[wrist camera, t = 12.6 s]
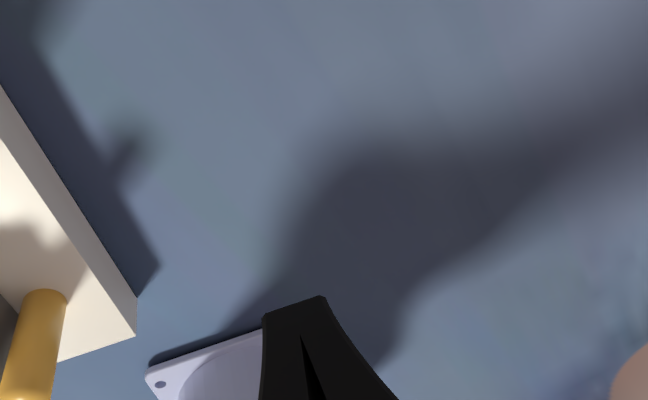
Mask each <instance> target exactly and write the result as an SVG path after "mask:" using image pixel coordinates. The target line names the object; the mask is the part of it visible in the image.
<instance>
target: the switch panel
mask: <svg viewBox="0 0 648 400" xmlns="http://www.w3.org/2000/svg"><path fill="white" fill-rule="evenodd" d="M0 295H1V296H2V297H3V298H4V299H5V300H6V301H7V303H8V304H9V305H10V306H11V307H12V308H13V309H14V311H15V312H16V313H17V314H18V315H19V316H18V320H17V323H16V327H15V331H14V335H13V338H12V342H11V346H10V350H9V353H8V357H7V361H6V365H5V368H4V372H3V376H2V380H1V383H0V400H50V398H51V392H52V387H53V381H54V375H55V369H56V364H57V362H60V361H63V360H66V359H69V358H72V357H75V356H78V355H81V354H84V353H87V352H90V351H93V350H96V349H99V348H102V347H105V346H108V345H111V344H114V343H117V342H120V341H123V340H126V339H129V338H132V337H134V336H136V324H137V298H136V296H135V295H134V293H133V292H132V290H131V288H130V287H129V285H128V284H127V282H126V281H125V279H124V278H123V276H122V274H121V273H120V271H119V270H118V268H117V267H116V265H115V263H114V262H113V260H112V259H111V257H110V256H109V254H108V252H107V251H106V249H105V248H104V246H103V245H102V243H101V242H100V240H99V238H98V237H97V235H96V234H95V232H94V231H93V229H92V227H91V226H90V224H89V223H88V221H87V220H86V218H85V217H84V215H83V213H82V212H81V210H80V209H79V207H78V206H77V204H76V202H75V201H74V199H73V198H72V196H71V195H70V193H69V191H68V190H67V188H66V187H65V185H64V184H63V182H62V181H61V179H60V177H59V176H58V174H57V173H56V171H55V170H54V168H53V166H52V165H51V163H50V162H49V160H48V159H47V157H46V156H45V154H44V152H43V151H42V149H41V148H40V146H39V145H38V143H37V141H36V140H35V138H34V137H33V135H32V134H31V132H30V130H29V129H28V127H27V126H26V124H25V123H24V121H23V120H22V118H21V116H20V115H19V113H18V112H17V110H16V109H15V107H14V105H13V104H12V102H11V101H10V99H9V98H8V96H7V95H6V93H5V91H4V90H3V88H2V87H1V85H0Z"/></svg>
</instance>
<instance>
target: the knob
mask: <svg viewBox="0 0 648 400" xmlns="http://www.w3.org/2000/svg"><path fill="white" fill-rule="evenodd" d="M18 316H19V315H18V314H17V313H16V312H15V311H14V309H13V308H12V307H11V306H10V305H9V304H8V303H7V301H6V300H5V299H4V298H3V297H2V296H1V295H0V383H1V380H2V376H3V372H4V368H5V365H6V361H7V357H8V353H9V350H10V346H11V342H12V338H13V335H14V331H15V327H16V323H17V320H18Z"/></svg>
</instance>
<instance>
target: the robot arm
mask: <svg viewBox="0 0 648 400" xmlns="http://www.w3.org/2000/svg"><path fill="white" fill-rule="evenodd" d="M145 381H146V383H147V384H148V385H149V387H150V388H151V389H152V391H153V392H154V394H155V395H156V396H157V398H158V399H159V400H399V399H398V398H397V397H396V396H395V395H394V394H393V393H392V391H391V390H390V389H389V388H388V387H387V386H386V385H385V383H384V382H383V381H382V380H381V379H380V378H379V376H378V375H377V374H376V373H375V371H374V370H373V369H372V368H371V366H370V365H369V364H368V363H367V361H366V360H365V359H364V358H363V356H362V355H361V354H360V353H359V351H358V350H357V349H356V347H355V346H354V345H353V343H352V342H351V340H350V339H349V337H348V336H347V335H346V333H345V332H344V330H343V329H342V327H341V326H340V324H339V322H338V321H337V319H336V317H335V316H334V314H333V312H332V310H331V308H330V307H329V305H328V302H327V300H326V298H325V297H323V296H320V295H318V296H316V297H313V298H310V299H307V300H304V301H301V302H298V303H295V304H292V305H289V306H286V307H283V308H280V309H277V310H274V311H272V312H269V313H266V314H265V315H264V316H263V317H262V329H259V330H256V331H253V332H250V333H247V334H245V335H242V336H239V337H236V338H233V339H230V340H227V341H224V342H221V343H218V344H215V345H212V346H210V347H207V348H204V349H201V350H198V351H195V352H192V353H189V354H186V355H183V356H180V357H177V358H175V359H172V360H169V361H166V362H163V363H160V364H157V365H154V366H152V367H150V368H148V369H147V370H146V371H145Z"/></svg>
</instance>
